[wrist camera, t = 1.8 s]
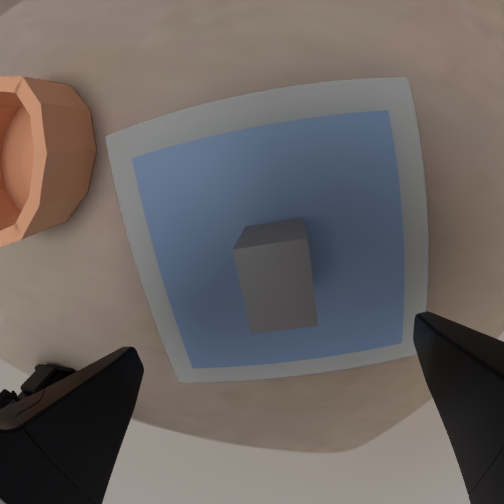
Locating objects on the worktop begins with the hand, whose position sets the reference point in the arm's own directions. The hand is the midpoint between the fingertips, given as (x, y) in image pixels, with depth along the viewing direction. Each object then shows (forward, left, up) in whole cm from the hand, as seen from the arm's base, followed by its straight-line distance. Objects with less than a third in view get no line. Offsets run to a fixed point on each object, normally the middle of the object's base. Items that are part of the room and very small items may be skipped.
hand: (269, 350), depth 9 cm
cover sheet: (0, 0, -9) cm, 9 cm away
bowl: (+10, +16, -10) cm, 21 cm away
